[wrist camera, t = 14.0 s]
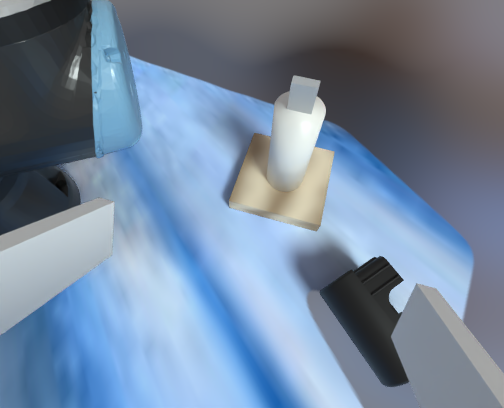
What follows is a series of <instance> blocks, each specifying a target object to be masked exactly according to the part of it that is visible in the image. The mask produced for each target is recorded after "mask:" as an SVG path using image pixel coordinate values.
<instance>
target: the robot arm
mask: <svg viewBox="0 0 504 408" xmlns="http://www.w3.org/2000/svg"><path fill="white" fill-rule="evenodd" d="M141 134H142V120H141V113H140V106H139V101H138V95H137V90H136V85H135V80H134V75H133V71H132V66H131V62H130V58H129V54H128V49H127V45H126V41H125V38H124V34H123V30H122V27H121V24H120V22H119V19H118V16H117V12H116V9H115V7H114V5H113V4H112V3H111V2H110V1H107V0H0V335H1V334H3V333H4V332H6V331H7V330H8V329H10V328H11V327H13V326H14V325H15V324H17V323H18V322H20V321H21V320H22V319H24V318H25V317H27V316H28V315H29V314H31V313H32V312H34V311H35V310H36V309H38V308H39V307H41V306H42V305H43V304H45V303H46V302H48V301H49V300H50V299H52V298H53V297H54V296H56V295H57V294H59V293H60V292H61V291H63V290H64V289H66V288H67V287H68V286H70V285H71V284H73V283H74V282H75V281H77V280H78V279H80V278H81V277H82V276H84V275H85V274H87V273H88V272H89V271H91V270H92V269H94V268H95V267H96V266H98V265H99V264H101V263H102V262H103V261H105V260H106V259H108V258H109V257H110V256H112V248H113V225H114V201H110V200H106V199H103V198H96V199H94V200H91V201H89V202H86V203H83V204H81V205H80V194H79V190H78V188H77V186H76V184H75V182H74V181H73V180H72V179H71V178H70V177H69V176H68V175H67V174H66V173H65V172H64V171H63V170H62V169H60V168H59V167H57V166H56V165H60V164H64V163H69V162H73V161H78V160H83V159H87V158H92V157H97V158H101V157H103V155H104V154H107V153H111V152H115V151H119V150H122V149H126V148H129V147H132V146H134V145H135V144H136V143H137V142H138V141H139V139H140V137H141ZM391 338H392V341H393V343H394V346H395V348H396V350H397V353H398V355H399V358H400V360H401V363H402V365H403V368H404V370H405V372H406V375H407V377H408V380H409V382H410V384H411V387H412V389H413V392H414V395H415V397H416V399H417V402H418V404H419V407H420V408H504V374H503V372H502V371H501V370H500V368H499V367H498V366H497V365H496V363H495V362H494V361H493V360H492V358H491V357H490V356H489V355H488V353H487V352H486V351H485V350H484V348H483V347H482V346H481V344H480V343H479V342H478V341H477V339H476V338H475V337H474V336H473V334H472V333H471V332H470V331H469V329H468V328H467V327H466V326H465V324H464V323H463V322H462V320H461V319H460V318H459V317H458V315H457V314H456V313H455V312H454V310H453V309H452V308H451V307H450V305H449V304H448V303H447V302H446V300H445V299H444V298H443V296H442V295H441V294H440V293H439V291H438V290H437V289H435V288H432V287H428V286H424V285H421V284H417V283H416V285H415V288H414V290H413V292H412V294H411V296H410V298H409V300H408V302H407V304H406V306H405V308H404V310H403V312H402V314H401V317H400V319H399V321H398V323H397V325H396V327H395V329H394V331H393V333H392V335H391Z"/></svg>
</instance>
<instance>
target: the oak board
mask: <svg viewBox="0 0 504 408" xmlns="http://www.w3.org/2000/svg"><path fill="white" fill-rule="evenodd" d="M270 140H271V137H270V136H266V135H262V134H257V133H254V135H253V138H252V140H251V143H250V146H249V148H248V151H247V154H246V156H245V159H244V162H243V164H242V167H241V170H240V172H239V175H238V178H237V180H236V183H235V186H234V188H233V191H232V194H231V196H230V199H229V206H230V208H232V209H236V210H240V211H243V212H247V213H251V214H254V215H258V216H262V217H265V218H269V219H273V220H276V221H280V222H284V223H288V224H291V225H295V226H299V227H302V228H306V229H310V230H313V231H317V230H318V229H319V227H320V225H321V220H322V214H323V209H324V204H325V199H326V193H327V188H328V183H329V178H330V172H331V167H332V162H333V157H334V151H330V150H325V149H321V148H317V147H314V149H313V152H312V155H311V158H310V161H309V164H308V167H307V170H306V172H305V175H304V178H303V181H302V184H301V185H300V186H299V187H298V188H297V189H295V190H293V191H290V192H282V191H278V190H276V189H274V188H273V187H272V186H271V185H270V184H269V182H268V180H267V176H266V175H267V166H268V157H269V149H270Z"/></svg>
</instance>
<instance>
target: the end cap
mask: <svg viewBox="0 0 504 408" xmlns="http://www.w3.org/2000/svg"><path fill="white" fill-rule="evenodd" d="M402 281H404V280H403V279H402V278H401V276H400V275H399V274H398V273H397V272H396V271H395V269H394V268H393V267H392V266H391V265H390V263H389V262H388V261H387V260H386V259H385V258H384V257H382V256H379V257H378V258H376V257H373V258H372V259H371V260H369V261H368V262H366V263H365V264H363V265H362V266H360V267H359V268H357V269H356V270H354V271H352V270H349V271H348V272H347V273H345V274H344V275H342V276H341V277H339V278H338V279H336V280H335V281H333V282H332V283H330V284H329V285H328V286H326V287H325V288H323V289H322V290H321V291H320V295H321V296H322V298H323V299H324V300H325V302H326V303H327V305H328V306H329V308H330V309H331V311H332V312H333V313H334V315H335V316H336V318H337V319H338V321H339V322H340V324H341V325H342V326H343V328H344V329H345V331H346V332H347V334H348V335H349V337H350V338H351V340H352V341H353V343H354V344H355V345H356V347H357V348H358V350H359V351H360V353H361V354H362V356H363V357H364V358H365V360H366V361H367V363H368V364H369V366H370V367H371V369H372V370H373V371H374V373H375V374H376V376H377V377H378V379H379V380H380V382H381V383H382V384H383V385H385V386H387V387H395V386H400V385H403V384H406V383H408V382H409V380H408V377H407V375H406V372H405V370H404V368H403V365H402V363H401V360H400V358H399V355H398V353H397V350H396V348H395V346H394V343H393V341H392V338H391V335H392V333H393V331H394V329H395V327H396V325H397V323H398V321H399V319H400V317H401V314H402V312H400V313H399V314H398V313H397V311H396V310H395V309H394V307H393V306H392V305H391V304H390V302H389V293H390V291H391V290H392V289H393V288H394V287H395V286H397V285H398V284H400V283H401V282H402Z"/></svg>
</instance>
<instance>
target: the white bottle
mask: <svg viewBox="0 0 504 408" xmlns="http://www.w3.org/2000/svg"><path fill="white" fill-rule="evenodd" d="M319 85H320V81H318V80H313V79H308V78H303V77H298V76H293V79H292V83H291V88H290V91H289V92H286V93H284V94H282V95H281V96H279V97H278V99H277V100H276V102H275V106H274V114H273V123H272V131H271V140H270V149H269V157H268V166H267V175H266V176H267V180H268V182H269V184H270V185H271V186H272V187H273V188H274V189H276V190H278V191H282V192H290V191H293V190H295V189H297V188H298V187H299V186H300V185H301V184H302V181H303V178H304V175H305V172H306V170H307V167H308V164H309V161H310V158H311V155H312V152H313V149H314V146H315V143H316V140H317V137H318V134H319V131H320V129H321V126H322V123H323V120H324V117H325V113H326V108H325V105H324V103H323V102H322V100H321V99H320V98H319V97H317V92H318V89H319Z"/></svg>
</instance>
